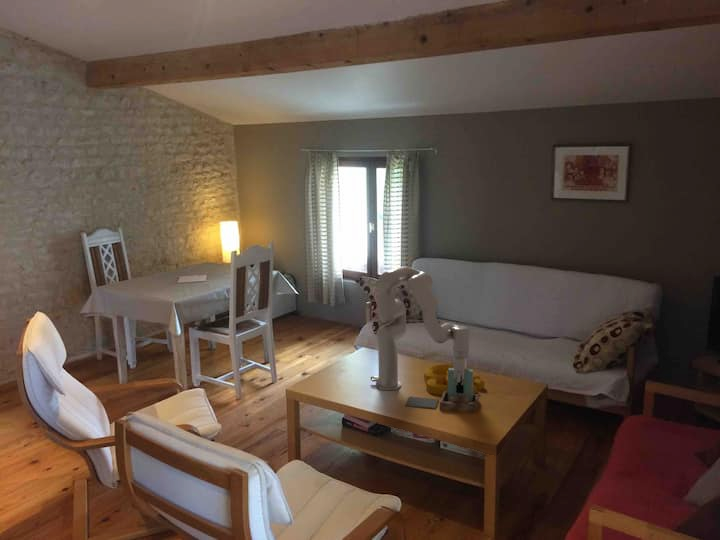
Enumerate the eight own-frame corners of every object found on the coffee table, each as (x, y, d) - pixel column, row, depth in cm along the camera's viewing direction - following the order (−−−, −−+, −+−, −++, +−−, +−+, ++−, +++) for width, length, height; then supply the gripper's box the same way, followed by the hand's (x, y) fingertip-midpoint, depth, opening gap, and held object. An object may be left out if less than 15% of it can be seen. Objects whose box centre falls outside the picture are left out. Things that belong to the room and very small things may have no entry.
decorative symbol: (426, 363, 321) (484, 366, 315) (426, 372, 322) (484, 375, 316) (420, 384, 292) (484, 387, 286) (420, 394, 293) (484, 398, 287)
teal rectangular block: (447, 402, 282) (448, 369, 279) (448, 400, 285) (449, 367, 282) (471, 405, 279) (472, 371, 276) (472, 402, 282) (473, 369, 279)
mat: (404, 406, 279) (404, 404, 279) (409, 397, 289) (409, 396, 289) (435, 409, 275) (435, 407, 275) (438, 400, 285) (438, 399, 285)
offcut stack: (449, 408, 276) (449, 398, 275) (449, 405, 279) (450, 395, 278) (473, 410, 273) (474, 400, 273) (474, 407, 277) (474, 397, 276)
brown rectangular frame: (439, 409, 275) (439, 402, 274) (443, 398, 287) (443, 391, 286) (475, 413, 271) (475, 405, 270) (478, 401, 283) (478, 394, 282)
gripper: (454, 347, 286) (454, 384, 290) (450, 358, 271) (449, 397, 274) (471, 348, 284) (470, 385, 288) (467, 359, 269) (466, 399, 272)
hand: (460, 390), depth 281 cm, fingers open, 3 cm apart
